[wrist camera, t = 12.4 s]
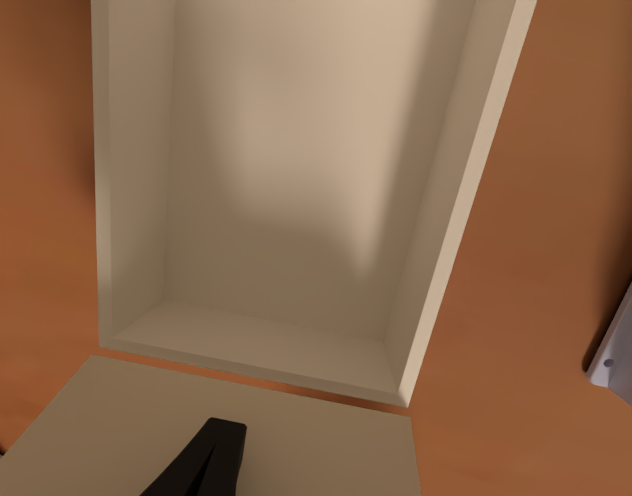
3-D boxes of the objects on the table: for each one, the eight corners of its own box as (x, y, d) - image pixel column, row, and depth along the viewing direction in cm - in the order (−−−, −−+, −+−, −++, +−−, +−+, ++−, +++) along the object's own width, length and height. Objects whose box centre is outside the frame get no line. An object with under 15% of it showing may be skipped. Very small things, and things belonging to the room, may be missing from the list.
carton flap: (410, 417, 13) (407, 421, 13) (91, 354, 13) (94, 359, 13) (453, 724, 7) (446, 722, 7) (-124, 600, 7) (-112, 602, 7)
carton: (389, 347, 17) (407, 407, 13) (158, 303, 17) (98, 347, 13) (506, -73, 12) (604, -212, 8) (173, -128, 12) (83, -293, 8)
